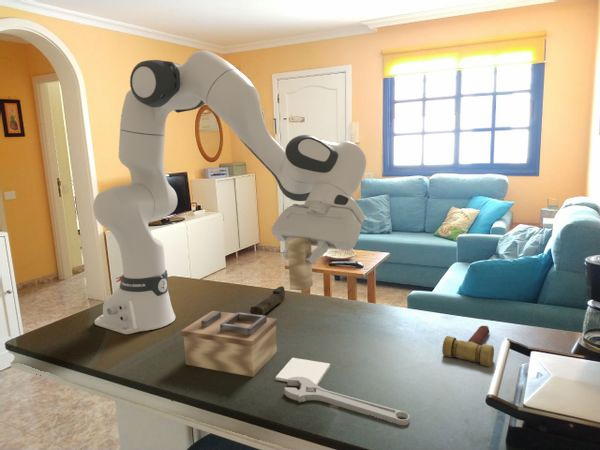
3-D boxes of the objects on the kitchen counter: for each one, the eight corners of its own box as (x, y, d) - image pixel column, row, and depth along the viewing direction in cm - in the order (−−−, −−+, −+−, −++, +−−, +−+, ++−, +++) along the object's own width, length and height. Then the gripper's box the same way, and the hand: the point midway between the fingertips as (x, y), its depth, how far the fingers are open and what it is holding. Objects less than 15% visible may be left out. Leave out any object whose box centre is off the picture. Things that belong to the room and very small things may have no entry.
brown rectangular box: (184, 365, 100) (180, 324, 98) (214, 341, 111) (212, 304, 109) (253, 377, 93) (251, 334, 91) (278, 351, 105) (277, 312, 103)
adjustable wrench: (412, 421, 78) (412, 412, 77) (397, 442, 73) (397, 432, 72) (295, 381, 92) (295, 373, 92) (276, 396, 87) (276, 387, 86)
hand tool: (262, 321, 124) (261, 305, 123) (250, 319, 126) (249, 303, 125) (292, 299, 141) (292, 285, 140) (281, 298, 142) (280, 284, 142)
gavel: (467, 314, 116) (508, 322, 110) (466, 331, 116) (507, 340, 111) (442, 339, 99) (490, 349, 93) (441, 358, 99) (488, 370, 94)
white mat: (275, 379, 92) (275, 376, 92) (292, 360, 100) (292, 357, 100) (316, 387, 89) (316, 384, 89) (330, 366, 97) (330, 363, 97)
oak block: (289, 289, 90) (287, 241, 88) (296, 284, 93) (294, 237, 92) (306, 290, 89) (304, 242, 87) (312, 285, 92) (310, 238, 90)
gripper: (282, 195, 100) (253, 246, 94) (360, 199, 87) (332, 258, 81) (296, 212, 104) (269, 261, 98) (372, 218, 91) (346, 276, 85)
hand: (298, 260), depth 90 cm, fingers closed on oak block, 4 cm apart
